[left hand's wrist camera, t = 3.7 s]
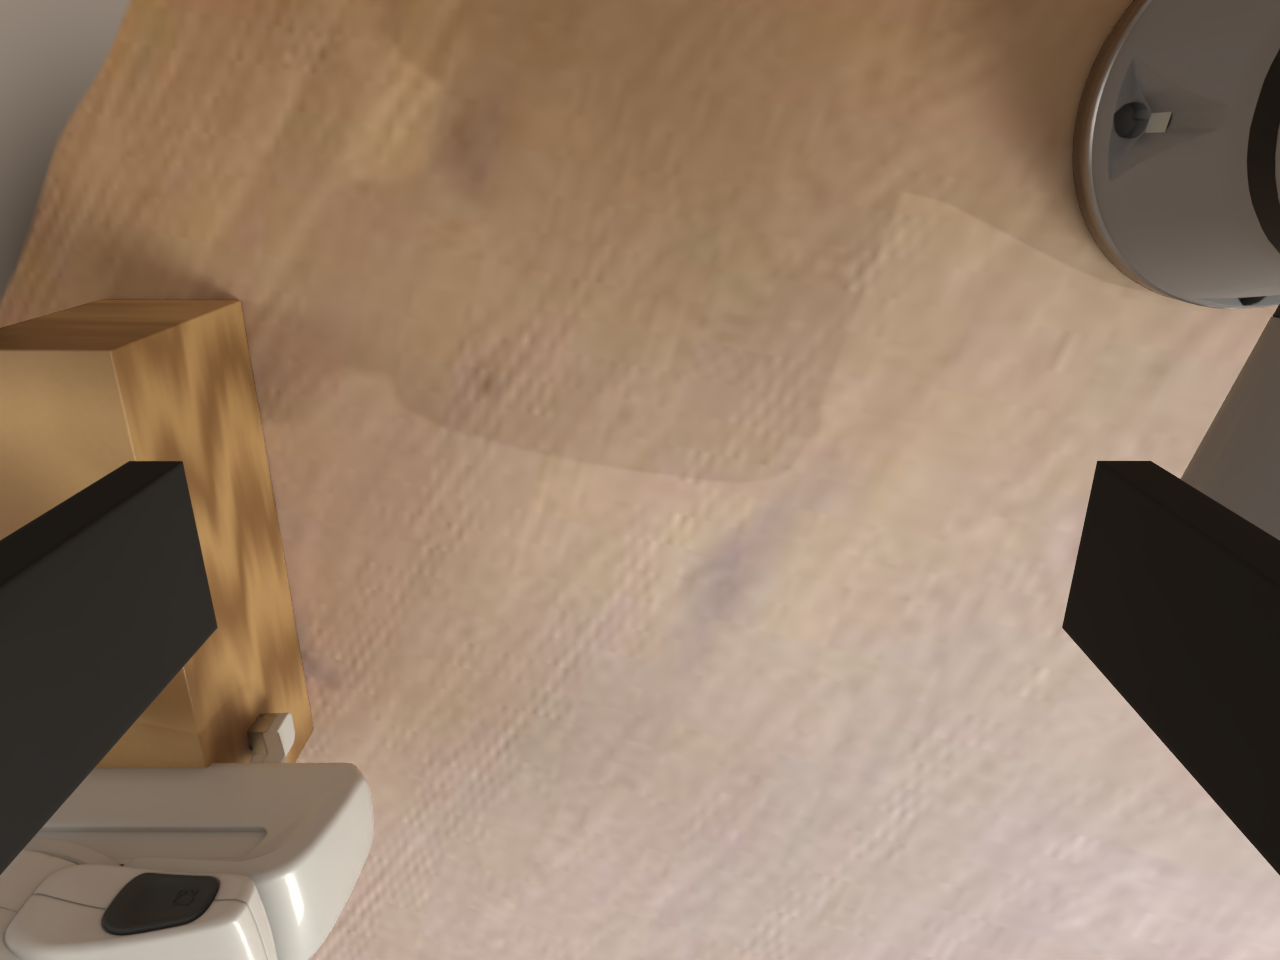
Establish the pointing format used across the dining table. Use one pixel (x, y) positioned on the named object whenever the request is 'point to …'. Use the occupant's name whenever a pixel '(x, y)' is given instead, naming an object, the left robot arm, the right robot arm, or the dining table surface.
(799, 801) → the dining table surface
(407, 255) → the dining table surface
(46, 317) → the box
